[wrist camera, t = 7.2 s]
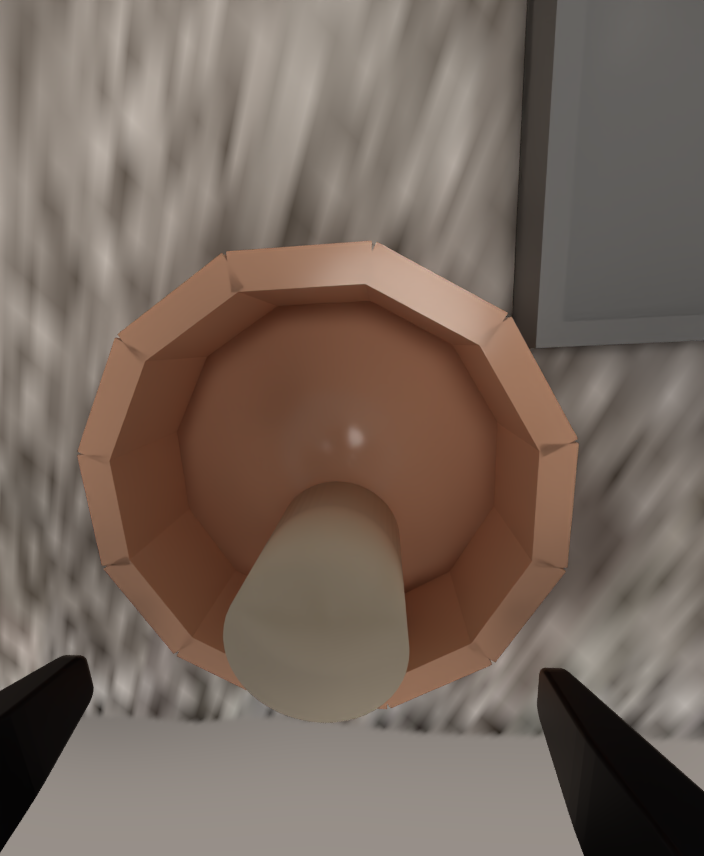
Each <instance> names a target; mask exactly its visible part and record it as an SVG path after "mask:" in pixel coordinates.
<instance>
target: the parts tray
mask: <svg viewBox="0 0 704 856" xmlns="http://www.w3.org/2000/svg"><path fill="white" fill-rule="evenodd" d="M512 318H513V320H514V322H515V324H516V326H517V328H518V329H519V331H520V333H521V335H522V337H523V339H524V340H525V342H526V344H527V346H528V348H549V347H570V346H592V345H614V344H635V343H657V342H678V341H700V340H704V0H528V1H527V22H526V43H525V64H524V85H523V107H522V128H521V149H520V170H519V191H518V212H517V233H516V254H515V275H514V296H513V317H512Z"/></svg>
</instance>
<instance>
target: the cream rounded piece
mask: <svg viewBox="0 0 704 856" xmlns="http://www.w3.org/2000/svg"><path fill="white" fill-rule="evenodd" d="M223 642H224V649H225V653H226V657H227V660H228V662H229V665H230V667H231V669H232V671H233V672H234V674H235V676H236V677H237V679H238V680H239V681H240V683H241V684H242V685H243V686H244V687H245V689H246V690H247V691H248V692H249V693H250V694H252V695H253V696H254V697H255V698H256V699H257V700H259V701H260V702H262V703H263V704H265V705H266V706H268V707H269V708H271V709H273V710H275V711H277V712H279V713H281V714H284V715H286V716H289V717H292V718H296V719H299V720H304V721H309V722H319V723H333V722H342V721H347V720H351V719H355V718H358V717H361V716H364V715H366V714H368V713H370V712H372V711H374V710H376V709H377V708H378V707H380V706H381V705H383V704H384V703H385V702H386V701H387V700H388V699H390V698H391V697H392V695H393V694H394V693H395V692H396V691H397V689H398V688H399V686H400V684H401V683H402V681H403V679H404V676H405V674H406V671H407V667H408V662H409V639H408V628H407V616H406V604H405V593H404V581H403V570H402V558H401V546H400V535H399V528H398V524H397V521H396V519H395V516H394V515H393V513H392V511H391V509H390V508H389V507H388V505H387V504H386V503H385V502H384V501H383V500H382V499H381V498H380V497H379V496H377V495H376V494H375V493H373V492H372V491H370V490H368V489H367V488H364V487H362V486H360V485H356V484H353V483H348V482H339V481H334V482H325V483H320V484H317V485H314V486H312V487H310V488H308V489H306V490H304V491H303V492H301V493H300V494H299V495H298V496H296V497H295V498H294V499H293V501H292V502H291V503H290V504H289V506H288V507H287V509H286V511H285V512H284V514H283V516H282V518H281V519H280V521H279V523H278V524H277V526H276V528H275V530H274V531H273V533H272V535H271V536H270V538H269V540H268V542H267V543H266V545H265V547H264V548H263V550H262V552H261V554H260V555H259V557H258V559H257V560H256V562H255V564H254V566H253V567H252V569H251V571H250V573H249V574H248V576H247V578H246V579H245V581H244V583H243V585H242V586H241V588H240V590H239V591H238V593H237V595H236V597H235V598H234V600H233V602H232V603H231V605H230V607H229V610H228V612H227V615H226V618H225V622H224V629H223Z"/></svg>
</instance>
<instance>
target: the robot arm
mask: <svg viewBox="0 0 704 856" xmlns="http://www.w3.org/2000/svg"><path fill="white" fill-rule="evenodd" d="M93 689H94V687H93V682H92V678H91V674H90V670H89V666H88V662H87V660H86V658H85V657H84V656H81V655H64V656H61V657H59V658H57V659H55V660H53V661H52V662H50V663H48V664H46V665H45V666H43V667H41V668H39V669H38V670H36V671H34V672H32V673H31V674H29V675H27V676H25V677H24V678H22V679H20V680H18V681H17V682H15V683H13V684H11V685H10V686H8V687H6V688H4V689H3V690H1V691H0V852H1V851H2V849H3V847H4V846H5V844H6V843H7V841H8V840H9V838H10V837H11V835H12V834H13V832H14V831H15V829H16V828H17V826H18V824H19V823H20V821H21V820H22V818H23V817H24V815H25V814H26V812H27V811H28V809H29V807H30V805H31V804H32V803H33V801H34V799H35V798H36V796H37V795H38V793H39V791H40V789H41V788H42V786H43V784H44V783H45V781H46V779H47V777H48V776H49V774H50V772H51V770H52V768H53V767H54V765H55V763H56V761H57V760H58V758H59V756H60V754H61V753H62V751H63V749H64V747H65V745H66V744H67V742H68V740H69V738H70V737H71V735H72V733H73V731H74V729H75V728H76V726H77V724H78V722H79V721H80V719H81V717H82V715H83V714H84V712H85V710H86V708H87V706H88V705H89V703H90V701H91V698H92V695H93ZM537 709H538V714H539V719H540V722H541V725H542V729H543V732H544V735H545V738H546V741H547V745H548V748H549V751H550V754H551V757H552V761H553V764H554V767H555V770H556V774H557V777H558V780H559V783H560V787H561V789H562V793H563V796H564V799H565V803H566V806H567V809H568V812H569V815H570V818H571V821H572V824H573V827H574V830H575V833H576V836H577V838H578V841H579V844H580V846H581V849H582V852H583V854H584V856H704V791H703V790H702V789H701V788H700V787H698V786H697V785H696V784H695V783H694V782H693V781H692V780H691V779H689V778H688V777H687V776H686V775H685V774H684V773H682V771H680V770H679V769H678V768H677V767H676V766H675V765H674V764H672V763H671V762H670V761H669V760H668V759H667V758H666V757H664V756H663V755H662V754H661V753H660V752H659V751H658V750H657V749H655V748H654V747H653V746H652V745H651V744H650V743H649V742H648V741H646V740H645V739H644V738H643V737H642V736H641V735H640V734H639V733H637V732H636V731H635V730H634V729H633V728H632V727H631V726H629V725H628V724H627V723H626V722H625V721H624V720H623V719H622V718H620V717H619V716H618V715H617V714H616V713H615V712H614V711H612V710H611V709H610V708H609V707H608V706H607V705H606V704H605V703H603V702H602V701H601V700H600V699H599V698H598V697H597V696H596V695H594V694H593V693H592V692H591V691H590V690H589V689H588V688H586V687H585V686H584V685H583V684H582V683H581V682H580V681H579V680H577V679H576V678H575V677H574V676H573V675H572V674H571V673H569V672H568V671H567V670H565V669H562V668H542V669H541V671H540V674H539V685H538V698H537Z"/></svg>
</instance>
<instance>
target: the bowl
mask: <svg viewBox="0 0 704 856" xmlns="http://www.w3.org/2000/svg"><path fill="white" fill-rule="evenodd" d="M226 254H227V256H226V255H224V254H222V253H221V254H220V255H219V256H217V257H216V258H215V259H213V260H212V261H211V262H210V263H208V264H207V265H206V266H205V267H203V268H202V269H201V270H199V271H198V272H197V273H196V274H194V275H193V276H192V277H190V278H189V279H188V280H187V281H185V282H184V283H183V284H181V285H180V286H179V287H178V288H176V289H175V290H174V291H172V292H171V293H170V294H169V295H167V296H166V297H165V298H163V299H162V300H161V301H160V302H158V303H157V304H156V305H154V306H153V307H152V308H151V309H149V310H148V311H147V312H145V313H144V314H143V315H142V316H140V317H139V318H138V319H136V320H135V321H134V322H133V323H131V324H130V325H129V326H128V327H126V328H125V329H124V330H122V331H121V332H120V333H119V334H118V336H119V337H120V338H115V339H114V342H113V345H112V348H111V351H110V354H109V358H108V361H107V364H106V367H105V370H104V373H103V376H102V379H101V382H100V385H99V388H98V391H97V394H96V397H95V400H94V403H93V406H92V409H91V412H90V415H89V418H88V421H87V424H86V427H85V430H84V433H83V436H82V439H81V442H80V445H79V448H78V452H80V453H82V454H80V455H77V457H78V461H79V466H80V470H81V475H82V479H83V484H84V488H85V493H86V497H87V501H88V506H89V510H90V515H91V519H92V524H93V528H94V533H95V537H96V542H97V546H98V551H99V555H100V560H101V564H102V565H107V566H106V567H105V568H104V570H105V571H106V573H107V574H108V575H109V576H110V577H111V579H112V580H113V581H114V582H115V583H116V585H117V586H118V587H119V588H120V589H121V591H122V592H123V593H124V594H125V596H126V597H127V598H128V599H129V600H130V602H131V603H132V604H133V605H134V606H135V608H136V609H137V610H138V611H139V612H140V614H141V615H142V616H143V617H144V618H145V620H146V621H147V622H148V623H149V625H150V626H151V627H152V628H153V629H154V631H155V632H156V633H157V634H158V635H159V637H160V638H161V639H162V640H163V641H164V643H165V644H166V645H167V646H168V648H169V649H170V650H171V651H172V652H173V654H174V653H176V652H178V651H179V652H178V654H177V656H178V657H180V658H182V659H184V660H186V661H188V662H190V663H192V664H194V665H196V666H198V667H200V668H202V669H204V670H206V671H208V672H210V673H212V674H214V675H217V676H219V677H221V678H223V679H225V680H227V681H229V682H231V683H233V684H235V685H237V686H239V687H241V688H243V689H245V687H244V686H243V685H242V684H241V683H240V681H239V680H238V679H237V677H236V676H235V674H234V672H233V671H232V669H231V667H230V665H229V662H228V660H227V657H226V653H225V649H224V642H223V629H224V622H225V618H226V615H227V612H228V610H229V607H230V605H231V603H232V602H233V600H234V598H235V597H236V595H237V593H238V591H239V590H240V588H241V586H242V585H243V583H244V581H245V579H246V578H247V576H248V574H249V573H250V571H251V569H252V567H253V566H254V564H255V562H256V560H257V559H258V557H259V555H260V554H261V552H262V550H263V548H264V547H265V545H266V543H267V542H268V540H269V538H270V536H271V535H272V533H273V531H274V530H275V528H276V526H277V524H278V523H279V521H280V519H281V518H282V516H283V514H284V512H285V511H286V509H287V507H288V506H289V504H290V503H291V502H292V501H293V499H294V498H295V497H296V496H298V495H299V494H300V493H301V492H303V491H304V490H306V489H308V488H310V487H312V486H314V485H317V484H320V483H325V482H334V481H339V482H348V483H353V484H356V485H360V486H362V487H364V488H367V489H368V490H370V491H372V492H373V493H375V494H376V495H377V496H379V497H380V498H381V499H382V500H383V501H384V502H385V503H386V504H387V505H388V507H389V508H390V509H391V511H392V513H393V515H394V516H395V519H396V521H397V524H398V528H399V535H400V546H401V558H402V570H403V581H404V593H405V604H406V616H407V628H408V639H409V662H408V667H407V671H406V674H405V676H404V679H403V681H402V683H401V684H400V686H399V688H398V689H397V691H396V692H395V693H394V694H393V695H392V697H391V698H390V699H388V700H387V701H386V702H385V703H384V704H383V705H381V706H380V707H378V708H377V709H387V704H388V705H389V707H390V708H392V707H395V706H397V705H399V704H402V703H404V702H406V701H409V700H411V699H413V698H416V697H418V696H420V695H423V694H425V693H427V692H430V691H432V690H434V689H437V688H439V687H441V686H444V685H446V684H448V683H451V682H453V681H455V680H458V679H460V678H462V677H465V676H467V675H469V674H472V673H474V672H476V671H479V670H481V669H483V668H486V667H488V666H490V665H492V663H491V660H492V661H494V662H496V661H497V659H498V658H499V657H500V656H501V654H502V653H503V652H504V650H505V649H506V648H507V647H508V645H509V644H510V643H511V641H512V640H513V639H514V638H515V636H516V635H517V634H518V632H519V631H520V630H521V629H522V627H523V626H524V625H525V623H526V622H527V621H528V620H529V618H530V617H531V616H532V614H533V613H534V612H535V611H536V609H537V608H538V607H539V605H540V604H541V603H542V601H543V600H544V599H545V598H546V596H547V595H548V594H549V592H550V591H551V590H552V589H553V587H554V586H555V585H556V583H557V582H558V581H559V580H560V578H561V577H562V576H563V574H564V573H565V572H566V571H565V570H564V569H563V568H567V566H568V555H569V544H570V534H571V523H572V512H573V501H574V490H575V480H576V469H577V458H578V447H579V443H577V442H575V440H577V439H578V438H577V436H576V434H575V433H574V431H573V429H572V427H571V425H570V423H569V421H568V420H567V418H566V416H565V414H564V412H563V410H562V409H561V407H560V405H559V403H558V401H557V399H556V398H555V396H554V394H553V392H552V390H551V388H550V386H549V385H548V383H547V381H546V379H545V377H544V375H543V374H542V372H541V370H540V368H539V366H538V364H537V363H536V361H535V359H534V357H533V355H532V353H531V352H530V350H529V348H528V346H527V344H526V342H525V340H524V339H523V337H522V335H521V333H520V331H519V329H518V328H517V326H516V324H515V322H514V320H513V318H512V317H507V318H505V317H506V315H507V314H508V313H507V312H505V311H503V310H502V309H500V308H498V307H496V306H494V305H492V304H491V303H489V302H487V301H485V300H483V299H481V298H479V297H478V296H476V295H474V294H472V293H470V292H468V291H467V290H465V289H463V288H461V287H459V286H457V285H456V284H454V283H452V282H450V281H448V280H446V279H444V278H443V277H441V276H439V275H437V274H435V273H433V272H432V271H430V270H428V269H426V268H424V267H422V266H420V265H419V264H417V263H415V262H413V261H411V260H409V259H408V258H406V257H404V256H402V255H400V254H398V253H397V252H395V251H393V250H391V249H389V248H387V247H385V246H384V245H382V244H380V243H378V242H376V244H375V246H374V248H373V250H372V241H360V242H346V243H333V244H319V245H306V246H292V247H279V248H265V249H252V250H238V251H226ZM245 690H246V689H245Z"/></svg>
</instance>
